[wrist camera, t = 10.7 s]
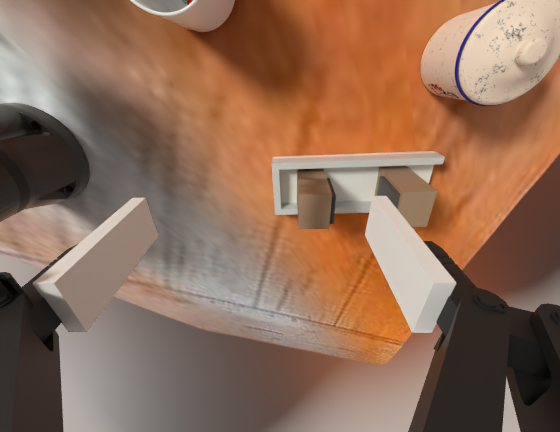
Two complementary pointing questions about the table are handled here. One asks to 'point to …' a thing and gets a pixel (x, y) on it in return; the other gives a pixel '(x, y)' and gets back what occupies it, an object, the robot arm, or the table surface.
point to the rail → (364, 181)
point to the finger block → (314, 199)
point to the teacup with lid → (493, 51)
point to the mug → (190, 12)
